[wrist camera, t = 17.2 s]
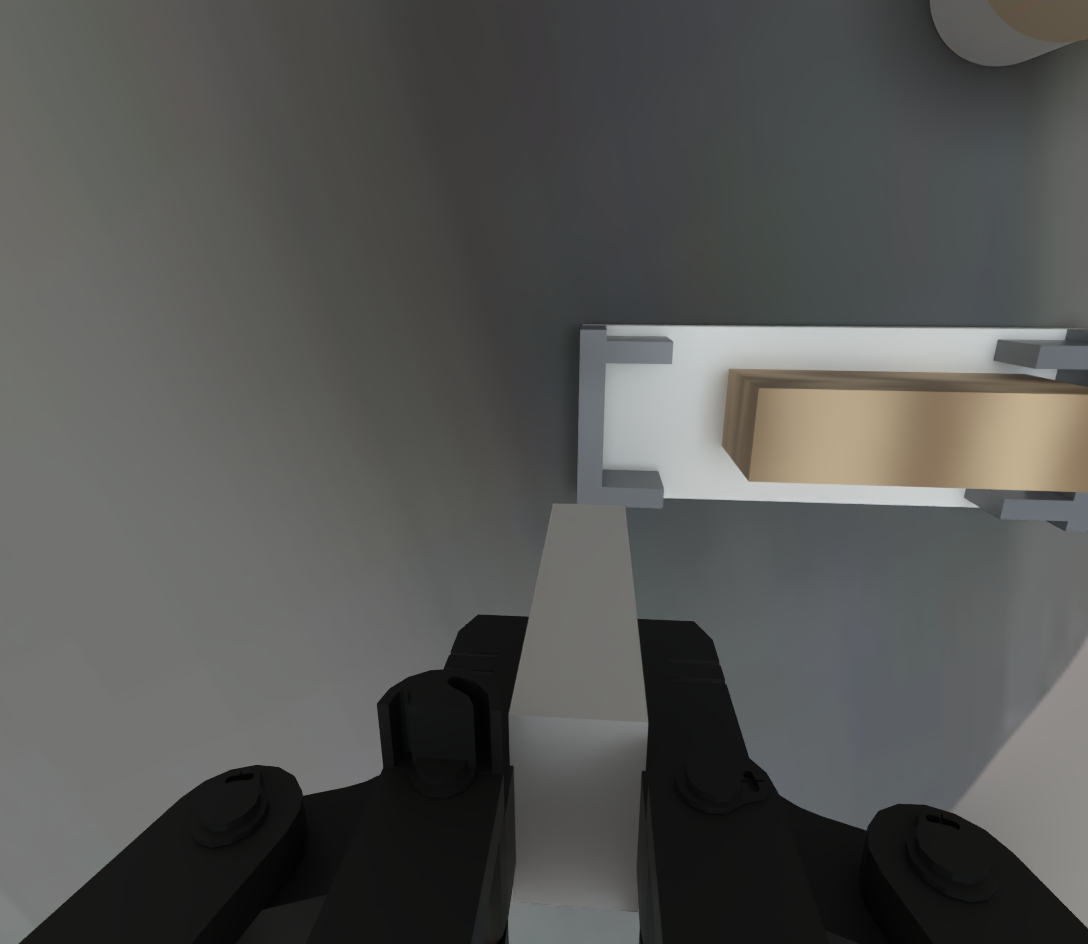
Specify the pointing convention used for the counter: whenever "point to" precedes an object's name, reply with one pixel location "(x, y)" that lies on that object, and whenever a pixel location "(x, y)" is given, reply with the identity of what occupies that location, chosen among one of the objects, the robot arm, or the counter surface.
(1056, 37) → the coffee cup
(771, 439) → the tan rectangular block
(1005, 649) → the counter surface
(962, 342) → the holder
